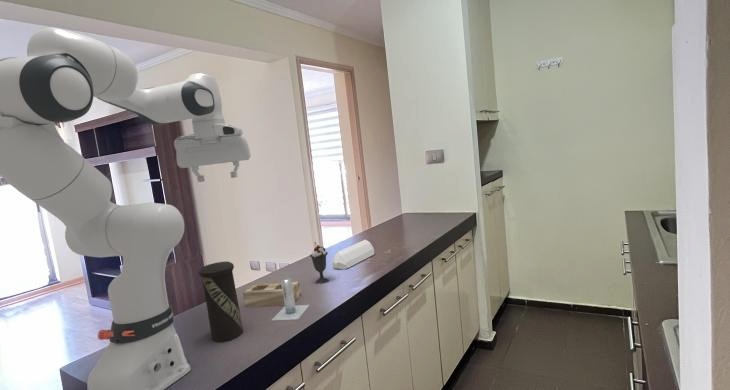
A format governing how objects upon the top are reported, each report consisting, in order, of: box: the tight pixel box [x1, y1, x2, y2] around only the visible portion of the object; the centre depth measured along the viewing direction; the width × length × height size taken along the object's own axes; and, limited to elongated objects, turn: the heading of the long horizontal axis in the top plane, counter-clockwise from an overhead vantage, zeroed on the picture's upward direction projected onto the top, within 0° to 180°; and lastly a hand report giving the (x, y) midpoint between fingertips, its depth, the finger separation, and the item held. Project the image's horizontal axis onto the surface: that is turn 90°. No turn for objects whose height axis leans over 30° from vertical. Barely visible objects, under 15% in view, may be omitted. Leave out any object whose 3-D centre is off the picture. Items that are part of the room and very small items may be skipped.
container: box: [198, 261, 244, 343], centre depth 103 cm, size 9×9×20 cm
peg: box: [280, 277, 296, 315], centre depth 114 cm, size 3×3×10 cm
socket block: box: [242, 280, 302, 308], centre depth 126 cm, size 8×16×5 cm, turn 79°
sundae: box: [309, 242, 330, 284], centre depth 141 cm, size 7×7×15 cm
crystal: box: [331, 239, 375, 270], centre depth 162 cm, size 7×7×24 cm
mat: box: [271, 304, 310, 321], centre depth 115 cm, size 10×8×1 cm
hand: (217, 179), depth 114 cm, fingers open, 8 cm apart
